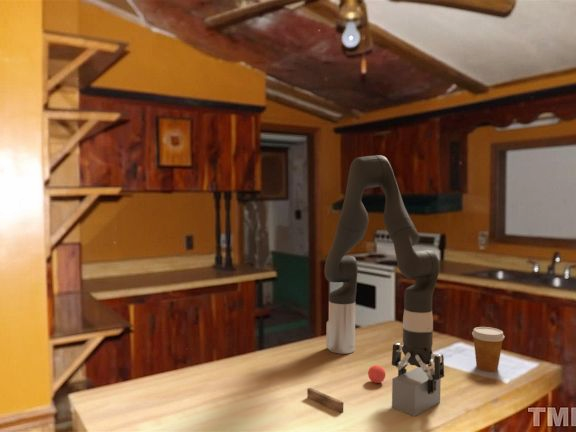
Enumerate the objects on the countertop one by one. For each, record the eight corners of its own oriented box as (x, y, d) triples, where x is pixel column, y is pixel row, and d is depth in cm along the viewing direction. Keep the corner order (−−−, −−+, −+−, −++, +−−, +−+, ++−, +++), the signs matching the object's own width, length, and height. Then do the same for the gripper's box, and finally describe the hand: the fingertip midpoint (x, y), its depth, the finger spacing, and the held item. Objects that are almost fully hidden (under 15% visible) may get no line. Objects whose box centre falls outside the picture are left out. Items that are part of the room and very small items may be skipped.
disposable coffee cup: (502, 364, 158) (503, 328, 157) (504, 375, 149) (506, 336, 148) (470, 361, 161) (471, 325, 160) (471, 371, 152) (472, 333, 151)
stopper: (307, 397, 132) (307, 388, 131) (309, 396, 132) (310, 387, 132) (340, 413, 123) (340, 403, 123) (343, 411, 123) (343, 402, 123)
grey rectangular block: (391, 407, 126) (392, 378, 126) (417, 394, 134) (418, 367, 134) (414, 416, 121) (415, 386, 121) (440, 402, 129) (440, 374, 129)
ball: (364, 382, 142) (364, 365, 142) (374, 377, 146) (375, 361, 146) (378, 387, 139) (378, 370, 138) (388, 382, 142) (389, 366, 142)
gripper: (386, 323, 129) (385, 383, 130) (434, 335, 119) (433, 400, 119) (403, 319, 134) (402, 376, 135) (450, 330, 124) (449, 392, 124)
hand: (416, 388), depth 127 cm, fingers open, 8 cm apart
